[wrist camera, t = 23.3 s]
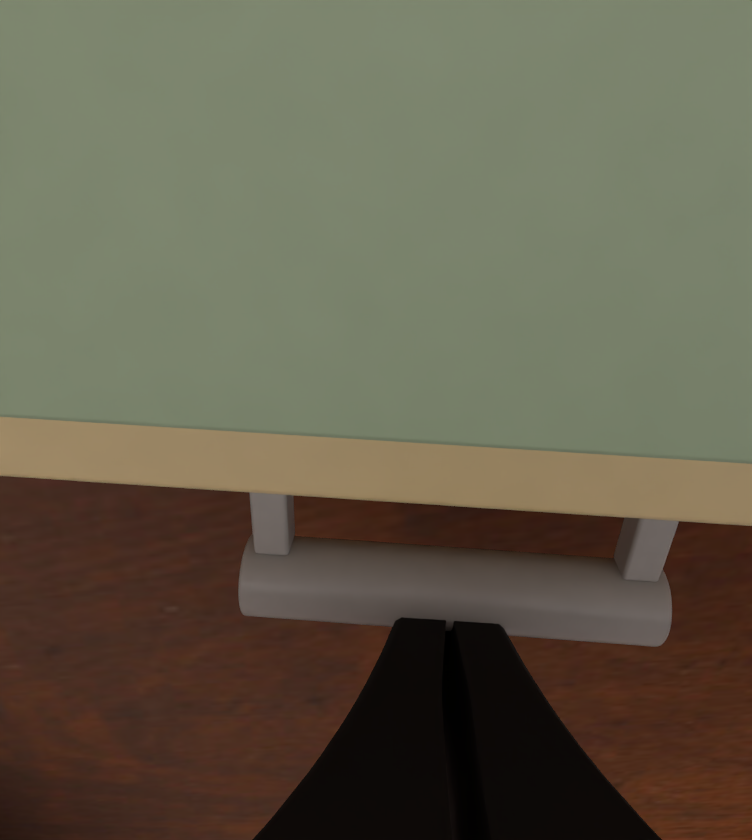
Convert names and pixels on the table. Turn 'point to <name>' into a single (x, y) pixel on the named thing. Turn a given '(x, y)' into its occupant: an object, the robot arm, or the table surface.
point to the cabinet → (382, 220)
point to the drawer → (422, 484)
